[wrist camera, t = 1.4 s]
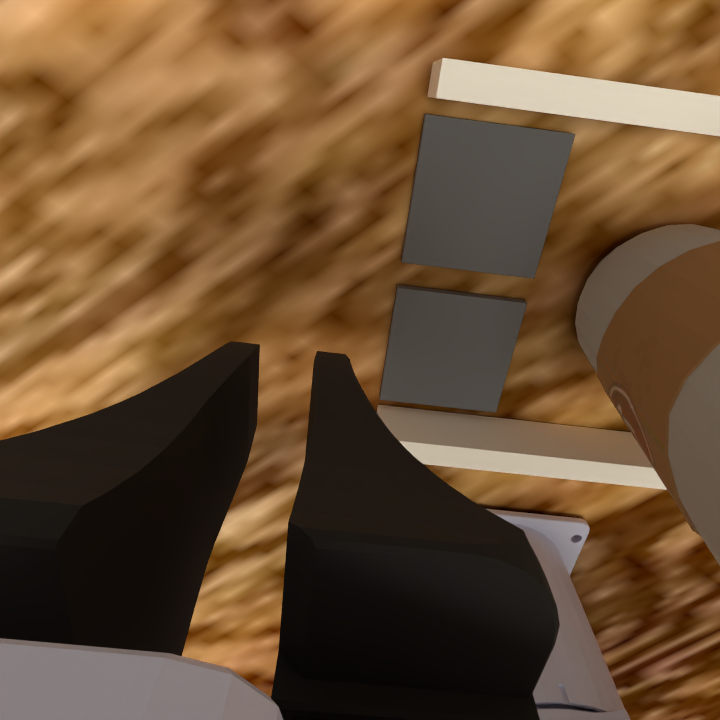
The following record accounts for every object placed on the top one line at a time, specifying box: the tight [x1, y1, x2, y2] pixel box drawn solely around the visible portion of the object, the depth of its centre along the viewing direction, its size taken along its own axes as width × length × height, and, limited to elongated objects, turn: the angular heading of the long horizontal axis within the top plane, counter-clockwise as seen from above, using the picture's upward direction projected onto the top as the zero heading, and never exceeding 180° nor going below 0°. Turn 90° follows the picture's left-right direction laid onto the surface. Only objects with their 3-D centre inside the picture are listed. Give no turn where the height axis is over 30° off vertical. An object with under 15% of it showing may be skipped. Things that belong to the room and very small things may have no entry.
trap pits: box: [380, 114, 575, 412], centre depth 20 cm, size 11×5×1 cm, turn 173°
